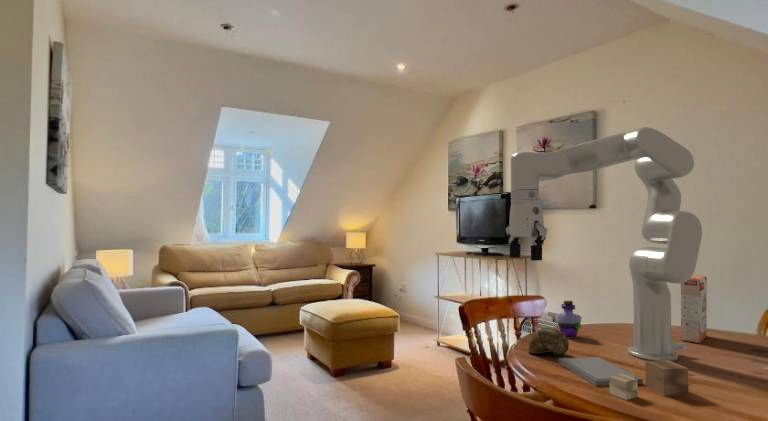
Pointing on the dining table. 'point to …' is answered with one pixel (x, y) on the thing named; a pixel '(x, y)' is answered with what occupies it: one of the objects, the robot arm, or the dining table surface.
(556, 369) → the dining table surface
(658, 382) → the walnut cube
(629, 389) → the beech block
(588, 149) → the robot arm
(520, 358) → the dining table surface
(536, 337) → the grey-brown rock
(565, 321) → the potion bottle
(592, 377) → the plate
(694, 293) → the cracker box
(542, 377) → the dining table surface
